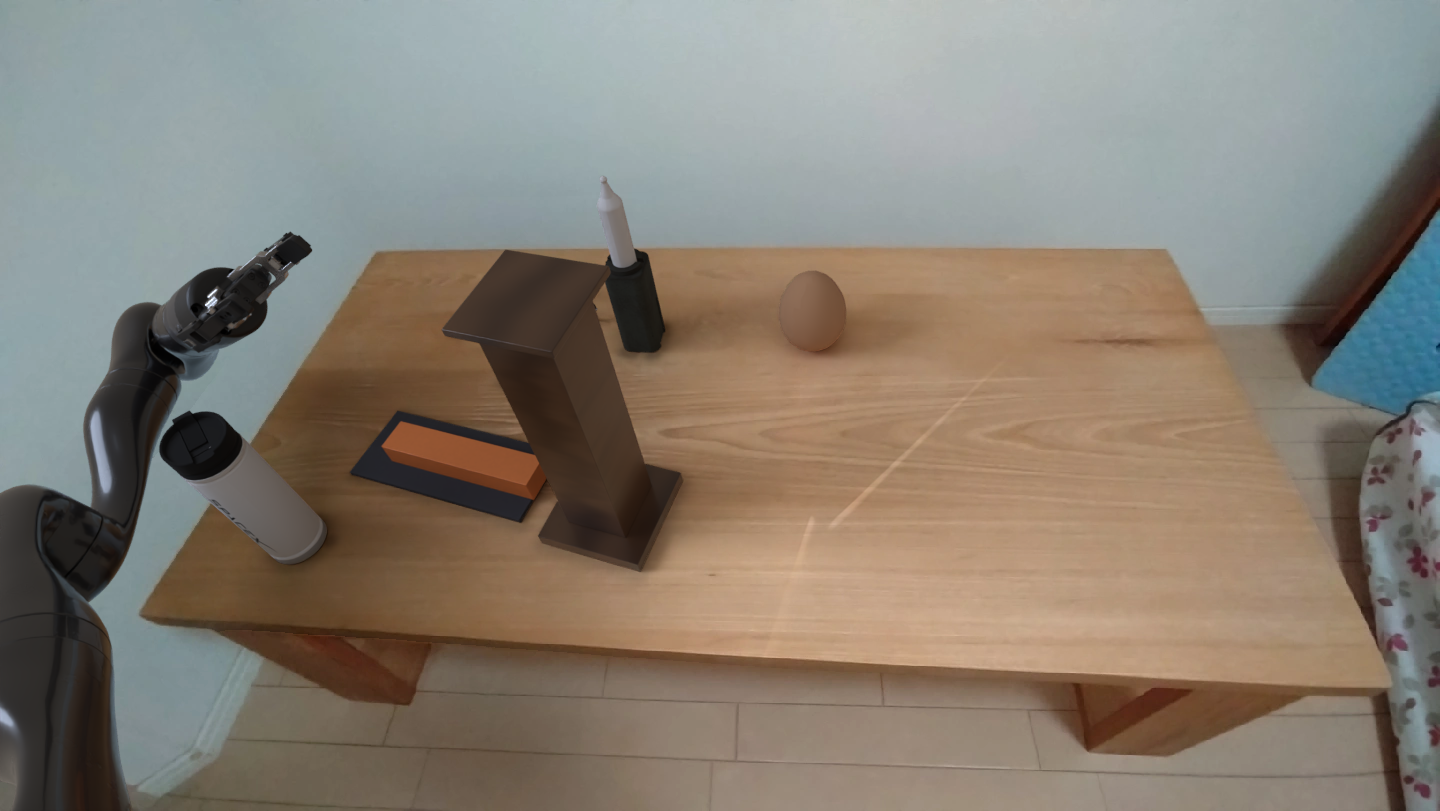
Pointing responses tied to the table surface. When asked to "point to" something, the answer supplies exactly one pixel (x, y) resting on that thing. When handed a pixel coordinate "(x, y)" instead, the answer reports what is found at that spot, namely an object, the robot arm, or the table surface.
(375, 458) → the mat
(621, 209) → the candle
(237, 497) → the travel mug
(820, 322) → the egg
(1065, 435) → the table surface
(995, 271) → the table surface
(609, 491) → the pedestal
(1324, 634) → the table surface
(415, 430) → the lever bar
